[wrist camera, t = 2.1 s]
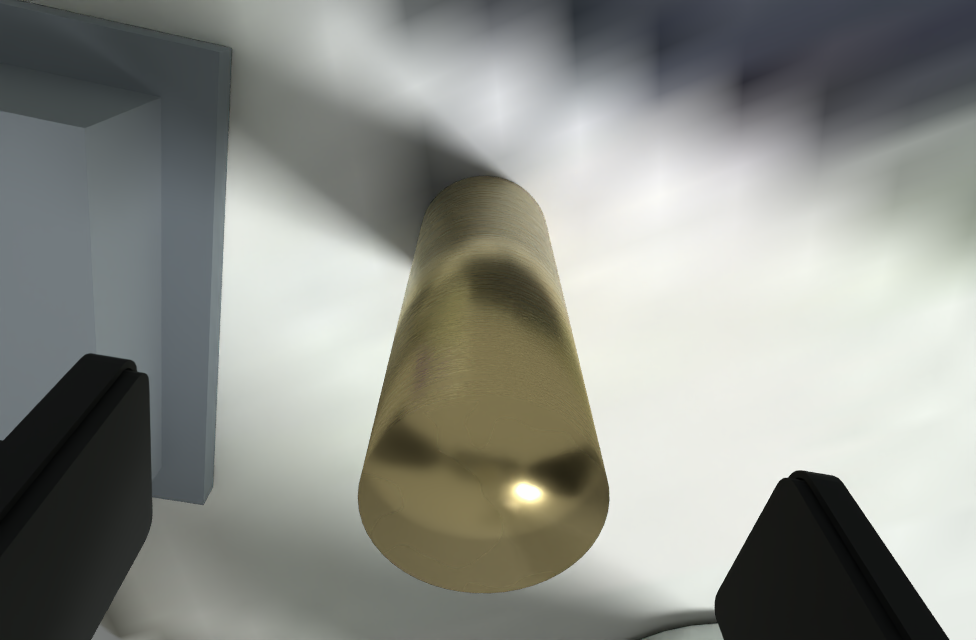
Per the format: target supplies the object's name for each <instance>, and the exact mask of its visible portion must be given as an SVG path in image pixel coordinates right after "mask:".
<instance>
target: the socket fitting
mask: <svg viewBox="0 0 976 640" xmlns="http://www.w3.org/2000/svg"><path fill="white" fill-rule="evenodd" d="M231 56H232V48H230V47H225V46H221V45H216V44H212V43H207V42H203V41H198V40H194V39H189V38H185V37H181V36H176V35H172V34H167V33H163V32H158V31H154V30H149V29H145V28H140V27H136V26H131V25H127V24H122V23H118V22H114V21H109V20H105V19H100V18H96V17H91V16H87V15H82V14H78V13H73V12H69V11H64V10H60V9H55V8H51V7H47V6H42V5H38V4H33V3H29V2H24V1H20V0H0V440H4V439H5V438H6V437H7V436H8V435H9V434H10V433H11V432H12V431H13V429H14V428H15V427H16V426H17V425H18V424H19V423H20V422H21V421H22V420H23V419H24V418H25V417H26V416H27V415H28V414H29V412H30V411H31V410H32V409H33V408H34V407H35V406H36V405H37V404H38V403H39V402H40V401H41V400H42V399H43V398H44V397H45V395H46V394H47V393H48V392H49V391H50V390H51V389H52V388H53V387H54V386H55V385H56V384H57V383H58V382H59V381H60V380H61V379H62V377H63V376H64V375H65V374H66V373H67V372H68V371H69V370H70V369H71V368H72V367H73V366H74V365H75V364H76V363H77V362H78V360H79V359H80V358H81V357H83V356H84V355H85V354H89V353H93V354H99V355H105V356H111V357H117V358H123V359H129V360H132V361H134V362H135V364H136V366H137V372H143V373H146V374H147V375H148V377H149V389H150V430H151V472H152V497H155V498H161V499H168V500H174V501H180V502H187V503H193V504H200V505H204V503H205V501H206V499H207V497H208V495H209V493H210V492H211V490H212V488H213V474H214V451H215V428H216V405H217V382H218V358H219V335H220V312H221V289H222V265H223V242H224V219H225V196H226V172H227V149H228V126H229V103H230V80H231Z"/></svg>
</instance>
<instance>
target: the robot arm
mask: <svg viewBox="0 0 976 640" xmlns="http://www.w3.org/2000/svg"><path fill="white" fill-rule="evenodd" d="M151 522H152V472H151V430H150V389H149V377H148V375H147V374H146V373H143V372H137V366H136V364H135V362H134V361H132V360H129V359H123V358H117V357H111V356H105V355H99V354H93V353H89V354H85V355H84V356H83V357H81V358H80V359H79V360H78V362H77V363H76V364H75V365H74V366H73V367H72V368H71V369H70V370H69V371H68V372H67V373H66V374H65V375H64V376H63V377H62V379H61V380H60V381H59V382H58V383H57V384H56V385H55V386H54V387H53V388H52V389H51V390H50V391H49V392H48V393H47V394H46V395H45V397H44V398H43V399H42V400H41V401H40V402H39V403H38V404H37V405H36V406H35V407H34V408H33V409H32V410H31V411H30V412H29V414H28V415H27V416H26V417H25V418H24V419H23V420H22V421H21V422H20V423H19V424H18V425H17V426H16V427H15V428H14V429H13V431H12V432H11V433H10V434H9V435H8V436H7V437H6V438H5V439H4V440H0V640H91V639H92V637H93V635H94V633H95V632H96V629H97V628H98V626H99V624H100V622H101V621H102V619H103V617H104V615H105V613H106V611H107V610H108V608H109V606H110V604H111V602H112V601H113V599H114V597H115V595H116V593H117V591H118V590H119V588H120V586H121V584H122V582H123V580H124V579H125V577H126V575H127V573H128V571H129V570H130V568H131V566H132V564H133V562H134V560H135V559H136V557H137V555H138V553H139V551H140V549H141V548H142V546H143V544H144V542H145V540H146V538H147V536H148V533H149V530H150V526H151ZM715 615H716V619H717V622H718V623H716V624H704V625H692V626H687V627H682V628H677V629H673V630H668V631H663V632H661V633H658V634H655V635H652V636H649V637H646V638H644V639H641V640H949V638H948V637H947V635H946V634H945V632H944V631H943V630H942V628H941V627H940V625H939V624H938V622H937V621H936V619H935V618H934V616H933V615H932V613H931V612H930V610H929V609H928V607H927V606H926V605H925V603H924V602H923V600H922V599H921V597H920V596H919V594H918V593H917V591H916V590H915V588H914V587H913V585H912V584H911V582H910V581H909V579H908V578H907V577H906V575H905V574H904V572H903V571H902V569H901V568H900V566H899V565H898V563H897V562H896V560H895V559H894V557H893V556H892V554H891V553H890V551H889V550H888V549H887V547H886V546H885V544H884V543H883V541H882V540H881V538H880V537H879V535H878V534H877V532H876V531H875V529H874V528H873V526H872V525H871V524H870V522H869V521H868V519H867V518H866V516H865V515H864V513H863V512H862V510H861V509H860V507H859V506H858V504H857V503H856V501H855V500H854V498H853V497H852V496H851V494H850V493H849V491H848V490H847V488H846V487H845V485H844V484H843V482H842V481H841V480H840V479H839V478H837V477H835V476H832V475H826V474H820V473H814V472H808V471H802V470H800V471H795V472H793V473H792V474H791V475H790V476H789V477H788V478H783V479H781V480H780V481H779V483H778V484H777V486H776V487H775V489H774V491H773V493H772V495H771V496H770V498H769V500H768V502H767V504H766V505H765V507H764V509H763V511H762V513H761V514H760V516H759V518H758V520H757V522H756V523H755V525H754V527H753V529H752V531H751V533H750V534H749V536H748V538H747V540H746V542H745V543H744V545H743V547H742V549H741V551H740V552H739V554H738V556H737V558H736V560H735V561H734V563H733V565H732V567H731V569H730V570H729V572H728V574H727V576H726V578H725V579H724V581H723V583H722V585H721V587H720V588H719V590H718V592H717V595H716V598H715Z"/></svg>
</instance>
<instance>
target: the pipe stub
mask: <svg viewBox="0 0 976 640" xmlns="http://www.w3.org/2000/svg"><path fill="white" fill-rule="evenodd" d="M358 505H359V512H360V516H361V519H362V523H363V525H364V527H365V530H366V532H367V534H368V536H369V537H370V539H371V540H372V542H373V543H374V545H375V546H376V547H377V548H378V550H379V551H380V552H381V553H382V554H383V555H384V556H385V557H386V558H387V559H388V560H389V561H390V562H392V563H393V564H394V565H395V566H397V567H398V568H400V569H401V570H403V571H404V572H406V573H407V574H409V575H411V576H413V577H415V578H417V579H419V580H421V581H424V582H426V583H429V584H431V585H434V586H438V587H441V588H444V589H449V590H454V591H459V592H469V593H498V592H507V591H513V590H518V589H522V588H526V587H529V586H533V585H536V584H538V583H541V582H543V581H546V580H548V579H550V578H552V577H554V576H556V575H558V574H560V573H561V572H563V571H564V570H566V569H567V568H569V567H570V566H572V565H573V564H574V563H575V562H577V561H578V560H579V559H580V558H581V557H582V556H583V555H584V554H585V553H586V552H587V551H588V550H589V549H590V548H591V546H592V545H593V543H594V542H595V540H596V539H597V538H598V536H599V534H600V532H601V530H602V528H603V526H604V523H605V520H606V517H607V513H608V507H609V486H608V481H607V476H606V472H605V468H604V464H603V460H602V455H601V451H600V447H599V443H598V439H597V434H596V430H595V426H594V422H593V418H592V414H591V409H590V405H589V401H588V397H587V393H586V388H585V384H584V380H583V376H582V372H581V367H580V363H579V359H578V355H577V351H576V347H575V342H574V338H573V334H572V330H571V326H570V321H569V317H568V313H567V309H566V305H565V300H564V296H563V292H562V288H561V284H560V280H559V275H558V271H557V267H556V263H555V259H554V254H553V250H552V246H551V242H550V238H549V233H548V229H547V225H546V221H545V218H544V215H543V212H542V211H541V209H540V207H539V205H538V204H537V202H536V201H535V200H534V198H533V197H532V196H531V195H530V194H529V193H528V192H527V191H525V190H524V189H523V188H522V187H520V186H518V185H516V184H515V183H513V182H510V181H508V180H505V179H502V178H498V177H492V176H476V177H470V178H466V179H463V180H460V181H458V182H455V183H453V184H452V185H450V186H448V187H447V188H445V189H444V190H443V191H441V192H440V193H439V194H438V195H437V196H436V197H435V198H434V200H433V201H432V202H431V204H430V205H429V207H428V209H427V210H426V213H425V215H424V218H423V222H422V225H421V230H420V234H419V238H418V242H417V246H416V250H415V254H414V259H413V263H412V267H411V271H410V275H409V279H408V283H407V288H406V292H405V296H404V300H403V304H402V308H401V312H400V317H399V321H398V325H397V329H396V333H395V337H394V341H393V346H392V350H391V354H390V358H389V362H388V366H387V370H386V374H385V379H384V383H383V387H382V391H381V395H380V399H379V403H378V408H377V412H376V416H375V420H374V424H373V428H372V432H371V437H370V441H369V445H368V449H367V453H366V457H365V461H364V466H363V470H362V474H361V478H360V482H359V489H358Z"/></svg>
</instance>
